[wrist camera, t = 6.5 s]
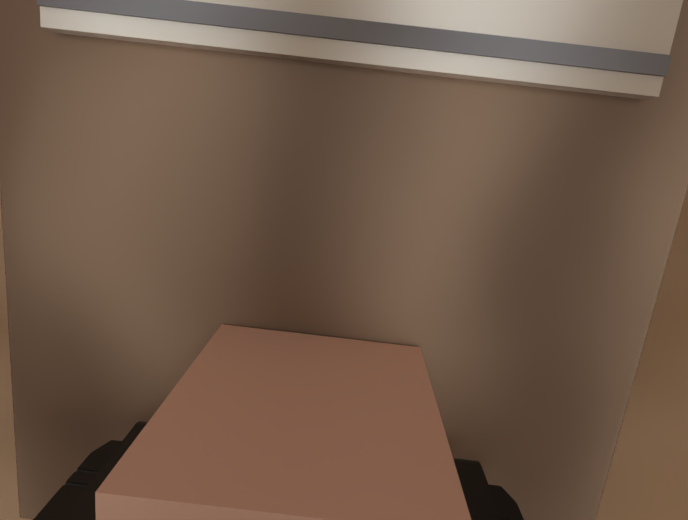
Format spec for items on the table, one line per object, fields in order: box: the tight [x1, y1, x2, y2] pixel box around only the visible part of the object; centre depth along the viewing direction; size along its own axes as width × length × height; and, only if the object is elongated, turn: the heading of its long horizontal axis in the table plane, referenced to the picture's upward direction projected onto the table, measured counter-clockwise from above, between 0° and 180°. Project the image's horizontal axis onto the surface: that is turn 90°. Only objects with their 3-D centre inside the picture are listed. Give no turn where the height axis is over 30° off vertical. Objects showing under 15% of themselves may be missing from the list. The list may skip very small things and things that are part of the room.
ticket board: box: [0, 0, 688, 520], centre depth 11 cm, size 16×24×2 cm, turn 174°
